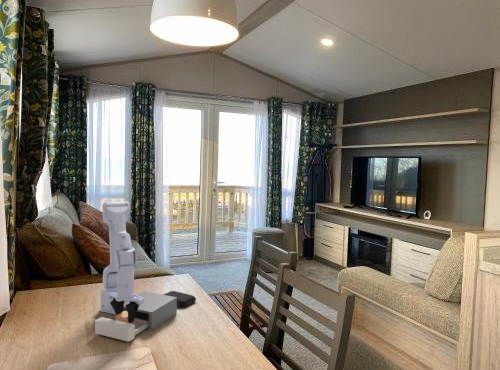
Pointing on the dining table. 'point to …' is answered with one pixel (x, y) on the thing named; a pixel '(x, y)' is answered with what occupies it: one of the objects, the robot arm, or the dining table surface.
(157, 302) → the housing
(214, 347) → the dining table surface
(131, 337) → the tray
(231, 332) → the dining table surface
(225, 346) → the dining table surface
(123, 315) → the block
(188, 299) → the carrying case or bag
